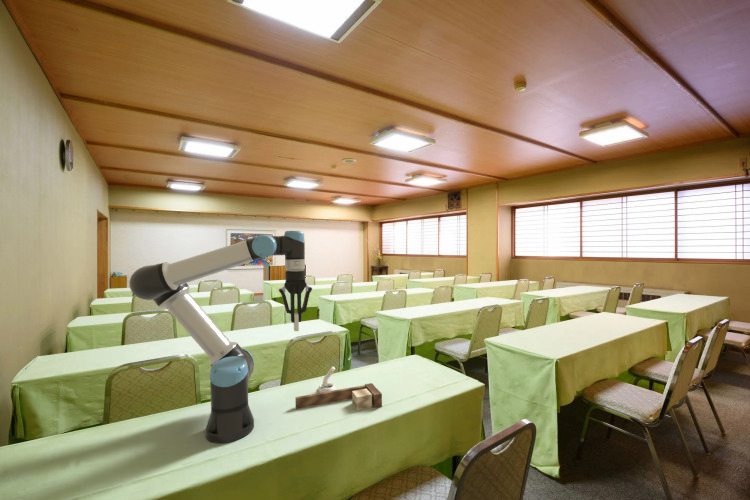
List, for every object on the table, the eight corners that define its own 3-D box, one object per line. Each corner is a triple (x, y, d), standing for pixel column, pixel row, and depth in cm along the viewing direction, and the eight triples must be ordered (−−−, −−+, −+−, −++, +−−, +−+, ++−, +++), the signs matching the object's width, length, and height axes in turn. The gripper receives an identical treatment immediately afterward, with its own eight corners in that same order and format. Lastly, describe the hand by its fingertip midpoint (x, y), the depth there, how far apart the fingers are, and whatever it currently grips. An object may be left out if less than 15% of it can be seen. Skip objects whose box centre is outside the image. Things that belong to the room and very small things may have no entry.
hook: (347, 379, 146) (334, 372, 143) (330, 401, 146) (317, 395, 144) (343, 369, 153) (331, 363, 150) (328, 391, 153) (315, 384, 151)
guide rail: (300, 422, 120) (300, 408, 120) (295, 407, 132) (295, 394, 132) (384, 406, 132) (384, 393, 132) (372, 393, 144) (372, 381, 143)
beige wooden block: (357, 410, 129) (357, 397, 129) (352, 403, 135) (352, 391, 135) (372, 407, 131) (371, 394, 131) (366, 400, 137) (366, 388, 137)
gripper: (278, 271, 127) (280, 334, 128) (313, 270, 132) (314, 330, 132) (277, 270, 134) (278, 329, 135) (310, 269, 139) (311, 326, 139)
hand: (296, 330), depth 134 cm, fingers closed
